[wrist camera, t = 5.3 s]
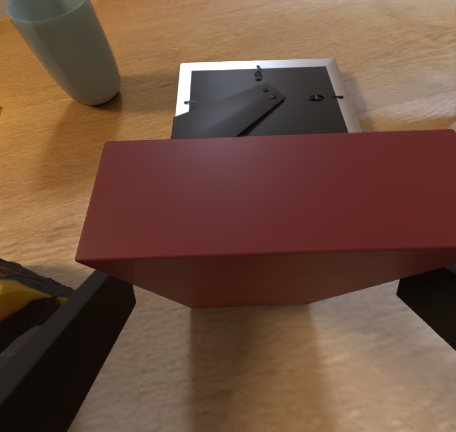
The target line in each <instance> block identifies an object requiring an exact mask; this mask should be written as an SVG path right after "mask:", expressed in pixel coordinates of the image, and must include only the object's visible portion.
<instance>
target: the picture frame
mask: <svg viewBox="0 0 456 432" xmlns="http://www.w3.org/2000/svg"><path fill="white" fill-rule="evenodd" d="M358 132H363V131H362V129H361V126H360V123H359V121H358V118H357V115H356V113H355V110H354V107H353V105H352V102H351V100H350V97H349V94H348V92H347V89H346V86H345V84H344V81H343V79H342V76H341V73H340V71H339V68H338V65H337V63H336V60H335V58H331V59H300V60H270V61H239V62H208V63H181V65H180V75H179V85H178V95H177V105H176V115H175V117H174V119H173V127H172V135H171V139H193V138H221V137H248V136H276V135H303V134H331V133H358Z"/></svg>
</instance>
